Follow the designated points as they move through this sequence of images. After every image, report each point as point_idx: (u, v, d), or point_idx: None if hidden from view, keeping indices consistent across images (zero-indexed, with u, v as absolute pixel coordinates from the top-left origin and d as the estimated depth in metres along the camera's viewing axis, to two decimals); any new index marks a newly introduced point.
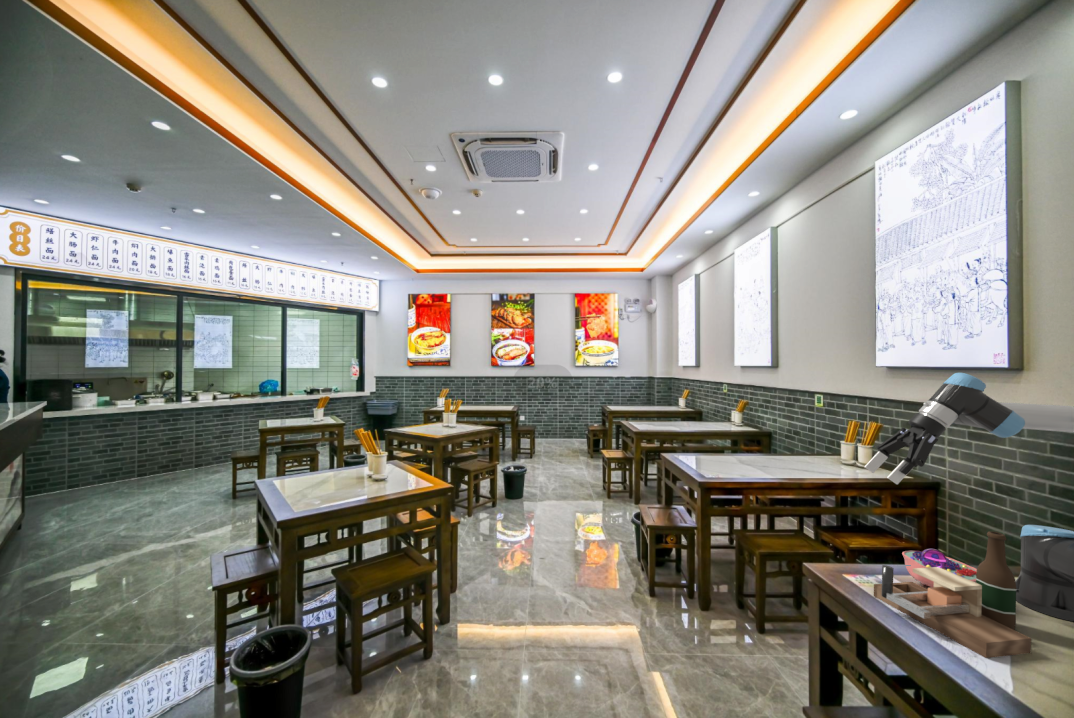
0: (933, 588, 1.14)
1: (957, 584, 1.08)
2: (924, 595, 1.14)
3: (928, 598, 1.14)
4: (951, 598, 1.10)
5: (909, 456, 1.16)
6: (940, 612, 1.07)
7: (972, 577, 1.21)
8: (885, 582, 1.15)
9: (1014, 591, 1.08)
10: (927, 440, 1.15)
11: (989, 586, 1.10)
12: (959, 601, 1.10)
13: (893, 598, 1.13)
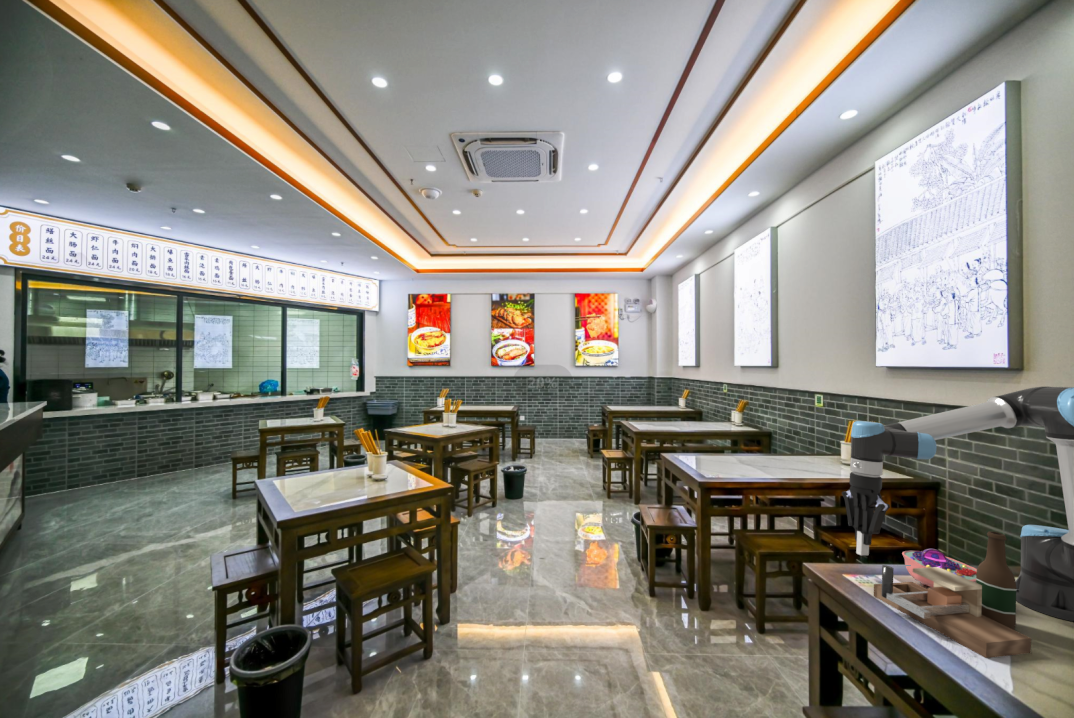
0: (933, 588, 1.14)
1: (957, 584, 1.08)
2: (924, 595, 1.14)
3: (928, 598, 1.14)
4: (951, 598, 1.10)
5: (865, 527, 1.21)
6: (940, 612, 1.07)
7: (972, 577, 1.21)
8: (885, 582, 1.15)
9: (1014, 591, 1.08)
10: (881, 511, 1.17)
11: (989, 586, 1.10)
12: (959, 601, 1.10)
13: (893, 598, 1.13)
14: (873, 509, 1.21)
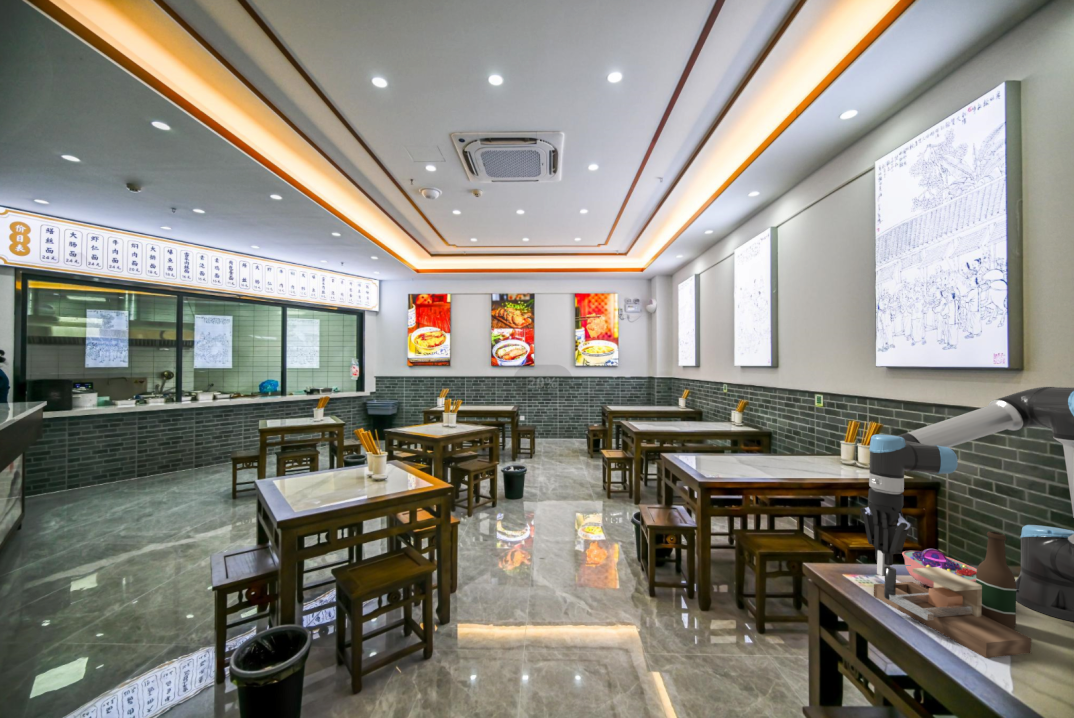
0: (934, 588, 1.14)
1: (957, 584, 1.08)
2: (927, 596, 1.14)
3: (929, 598, 1.13)
4: (952, 598, 1.10)
5: (886, 547, 1.15)
6: (943, 614, 1.07)
7: (972, 577, 1.21)
8: (888, 583, 1.14)
9: (1014, 591, 1.08)
10: (903, 530, 1.11)
11: (989, 586, 1.10)
12: (960, 601, 1.10)
13: (896, 600, 1.12)
14: (894, 527, 1.15)
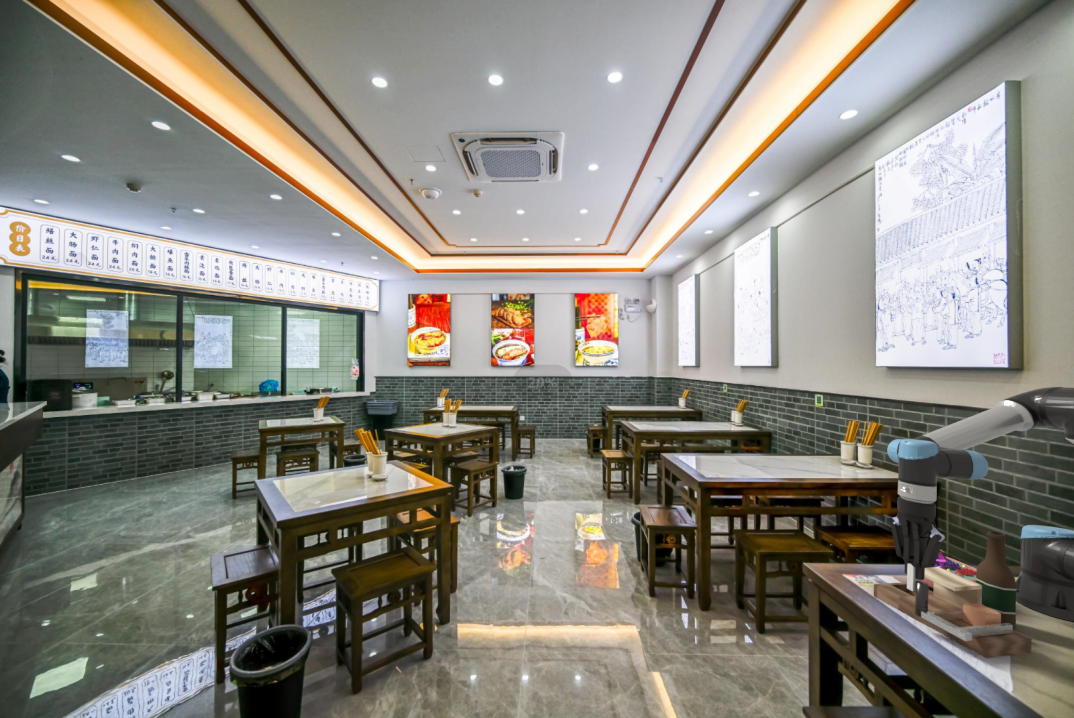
0: (969, 605, 1.06)
1: (957, 584, 1.08)
2: (962, 613, 1.06)
3: (964, 616, 1.06)
4: (990, 616, 1.02)
5: (917, 560, 1.07)
6: (982, 633, 0.99)
7: (972, 577, 1.21)
8: (919, 599, 1.06)
9: (1014, 591, 1.08)
10: (937, 542, 1.04)
11: (989, 586, 1.10)
12: (998, 619, 1.02)
13: (929, 617, 1.04)
14: (926, 539, 1.07)
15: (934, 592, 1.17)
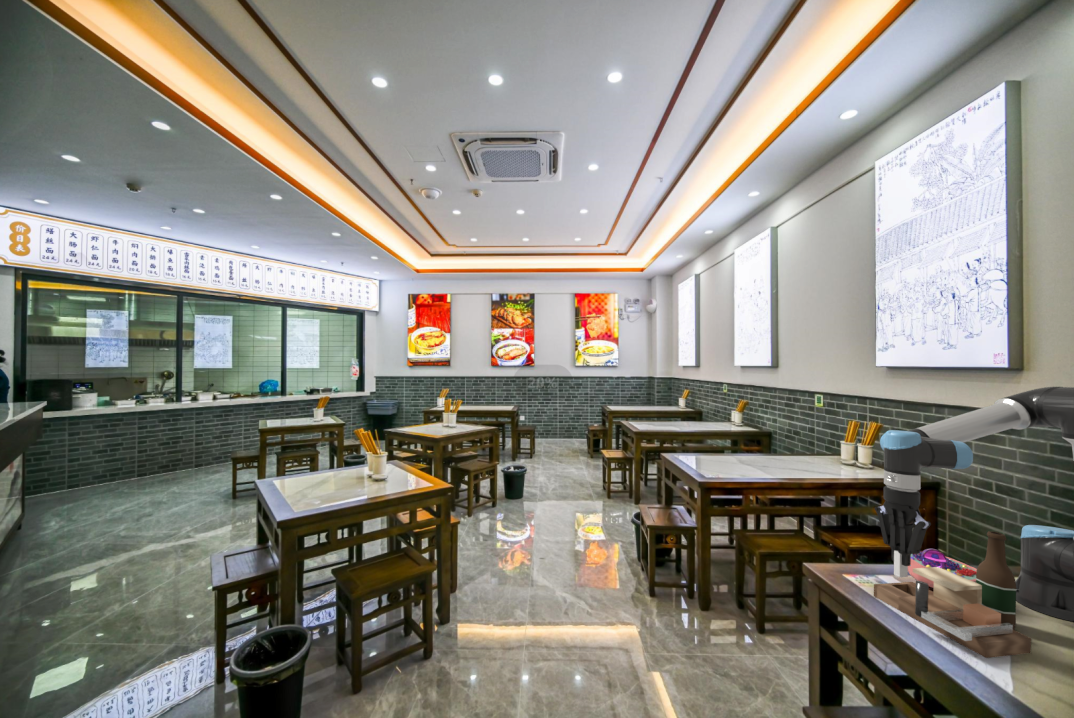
0: (970, 605, 1.06)
1: (957, 584, 1.08)
2: (962, 613, 1.06)
3: (964, 616, 1.06)
4: (990, 616, 1.02)
5: (903, 547, 1.11)
6: (982, 633, 0.99)
7: (972, 577, 1.21)
8: (919, 599, 1.06)
9: (1014, 591, 1.08)
10: (921, 529, 1.07)
11: (989, 586, 1.10)
12: (998, 619, 1.02)
13: (929, 617, 1.04)
14: (911, 526, 1.11)
15: (934, 592, 1.17)
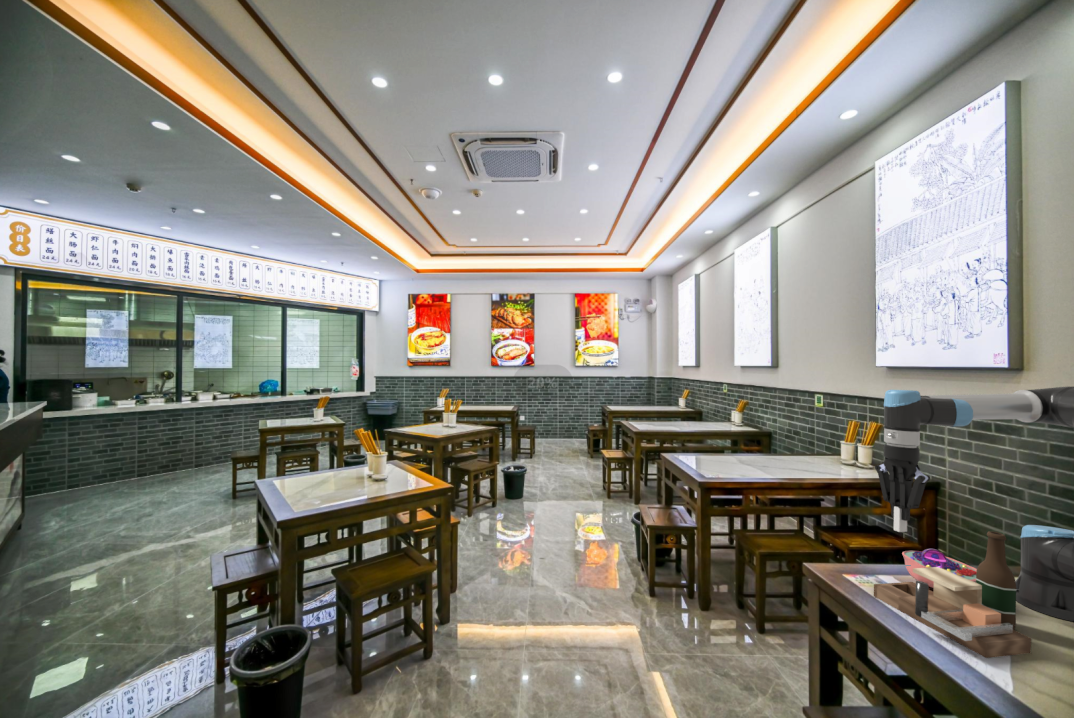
0: (970, 605, 1.06)
1: (957, 584, 1.08)
2: (962, 613, 1.06)
3: (964, 616, 1.06)
4: (990, 616, 1.02)
5: (903, 502, 1.13)
6: (982, 633, 0.99)
7: (972, 577, 1.21)
8: (919, 599, 1.06)
9: (1014, 591, 1.08)
10: (921, 483, 1.10)
11: (989, 586, 1.10)
12: (998, 619, 1.02)
13: (929, 617, 1.04)
14: (911, 482, 1.14)
15: (934, 592, 1.17)
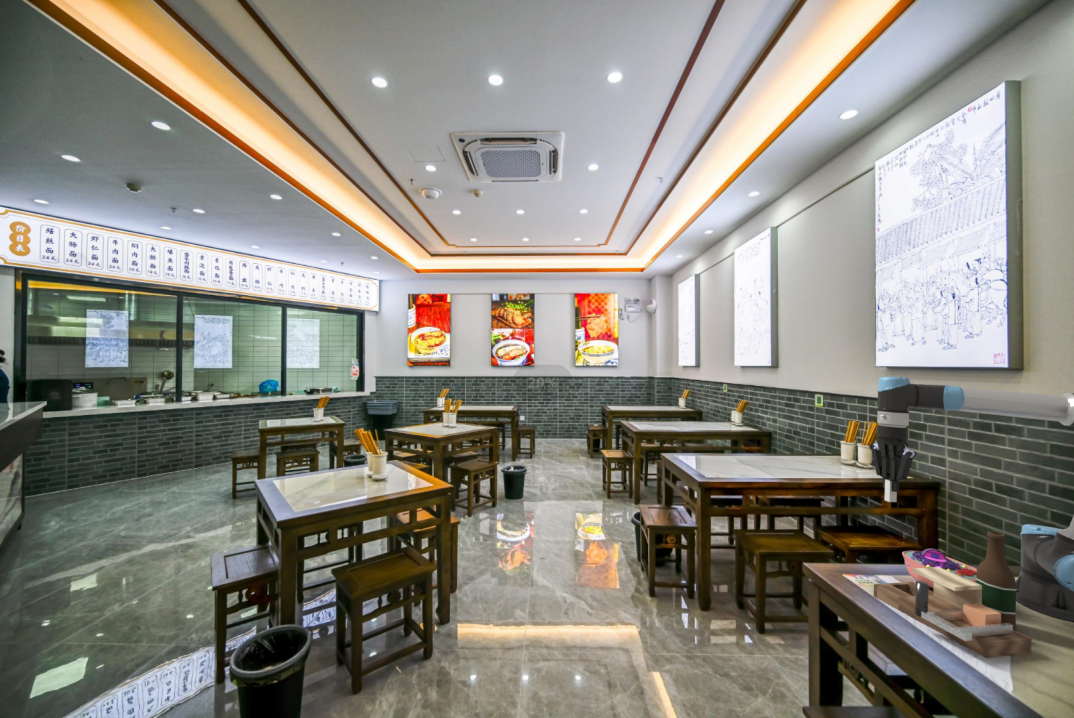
0: (970, 605, 1.06)
1: (957, 584, 1.08)
2: (962, 613, 1.06)
3: (964, 616, 1.06)
4: (990, 616, 1.02)
5: (893, 475, 1.28)
6: (982, 633, 0.99)
7: (972, 577, 1.21)
8: (919, 599, 1.06)
9: (1014, 591, 1.08)
10: (908, 458, 1.25)
11: (989, 586, 1.10)
12: (998, 619, 1.02)
13: (929, 617, 1.04)
14: (900, 458, 1.29)
15: (934, 592, 1.17)
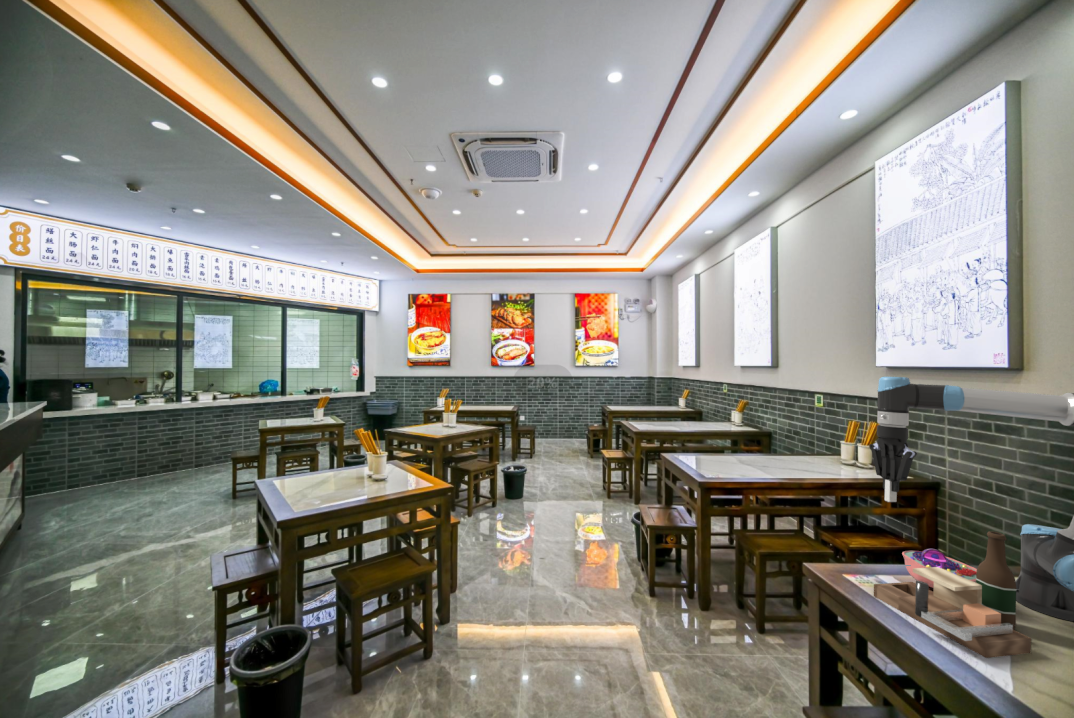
0: (970, 605, 1.06)
1: (957, 584, 1.08)
2: (962, 613, 1.06)
3: (964, 616, 1.06)
4: (990, 616, 1.02)
5: (893, 475, 1.28)
6: (982, 633, 0.99)
7: (972, 577, 1.21)
8: (919, 599, 1.06)
9: (1014, 591, 1.08)
10: (908, 458, 1.25)
11: (989, 586, 1.10)
12: (998, 619, 1.02)
13: (929, 617, 1.04)
14: (900, 458, 1.29)
15: (934, 592, 1.17)
